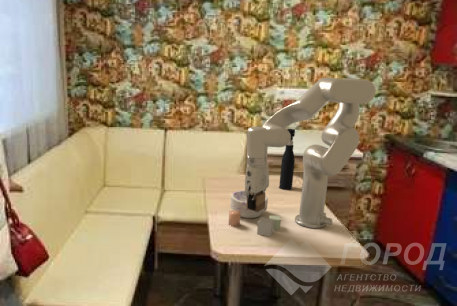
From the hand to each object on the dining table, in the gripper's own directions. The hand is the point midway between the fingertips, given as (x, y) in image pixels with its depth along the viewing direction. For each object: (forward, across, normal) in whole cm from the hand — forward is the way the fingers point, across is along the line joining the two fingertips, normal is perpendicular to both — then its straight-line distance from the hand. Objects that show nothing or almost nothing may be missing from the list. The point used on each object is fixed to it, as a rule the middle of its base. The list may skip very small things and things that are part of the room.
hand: (255, 206), depth 159 cm
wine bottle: (+11, +52, +17) cm, 56 cm away
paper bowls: (+9, +9, +10) cm, 16 cm away
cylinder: (+8, -4, +8) cm, 12 cm away
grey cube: (+9, -2, -5) cm, 10 cm away
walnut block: (+1, 0, 0) cm, 1 cm away
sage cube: (+9, +5, -5) cm, 12 cm away
